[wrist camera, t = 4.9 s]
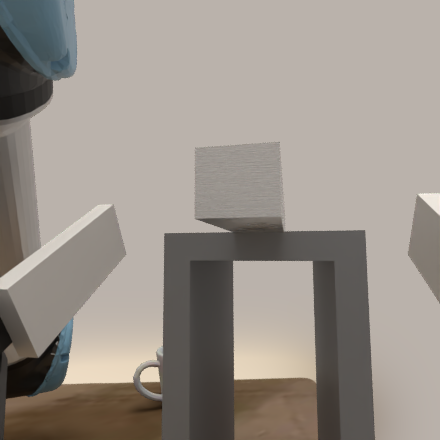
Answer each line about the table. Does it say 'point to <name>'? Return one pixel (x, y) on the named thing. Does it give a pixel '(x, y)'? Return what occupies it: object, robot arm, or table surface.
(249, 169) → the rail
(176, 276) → the shelf
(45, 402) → the table surface
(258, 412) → the table surface
